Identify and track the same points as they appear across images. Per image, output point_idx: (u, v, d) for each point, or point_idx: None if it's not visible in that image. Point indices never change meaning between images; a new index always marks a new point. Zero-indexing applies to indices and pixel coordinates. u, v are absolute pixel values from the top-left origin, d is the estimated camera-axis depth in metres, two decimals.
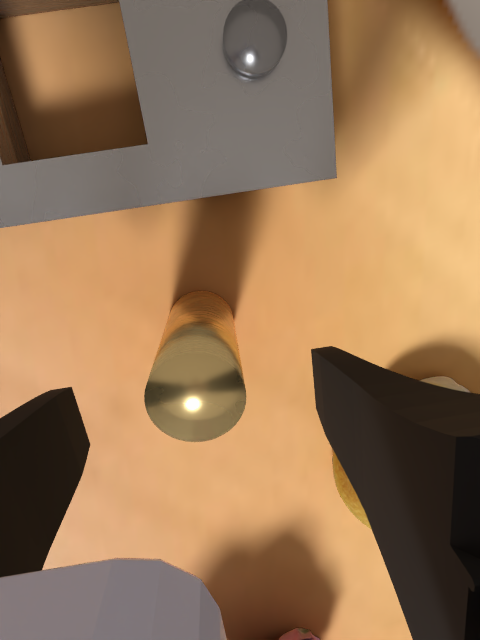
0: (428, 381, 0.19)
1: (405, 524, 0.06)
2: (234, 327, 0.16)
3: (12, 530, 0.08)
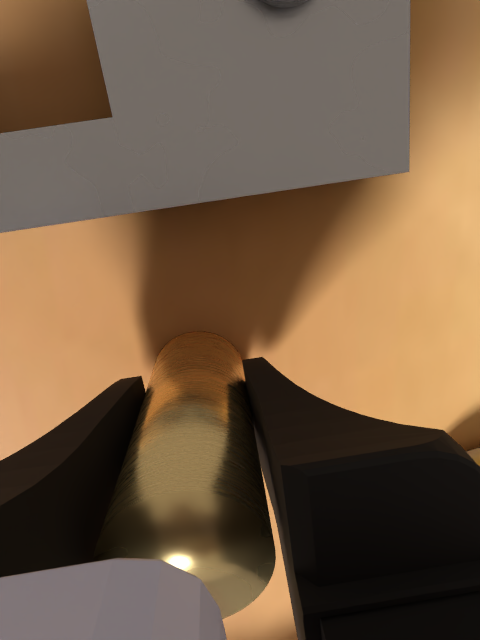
0: None
1: (284, 544, 0.06)
2: None
3: None
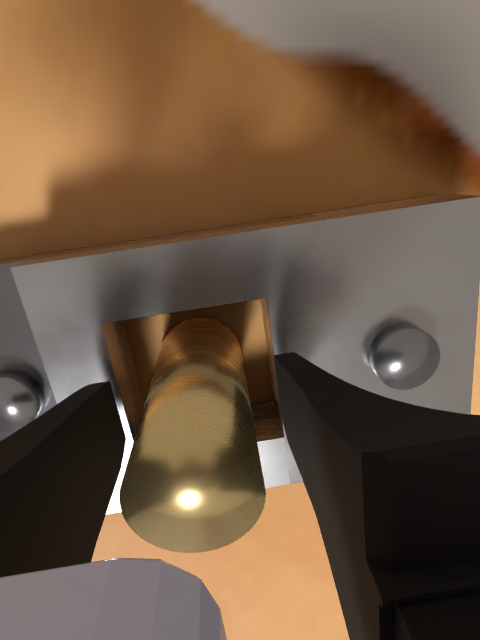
0: None
1: (340, 535, 0.06)
2: (243, 367, 0.12)
3: (66, 521, 0.08)
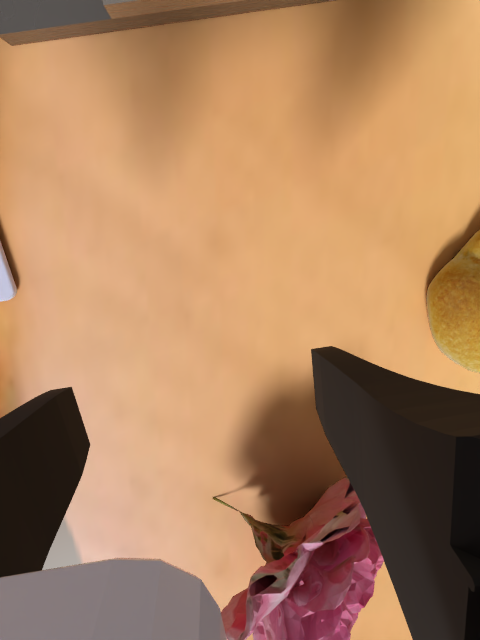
0: None
1: (405, 524, 0.06)
2: None
3: (12, 530, 0.08)
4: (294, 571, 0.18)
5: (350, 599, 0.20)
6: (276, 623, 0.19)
